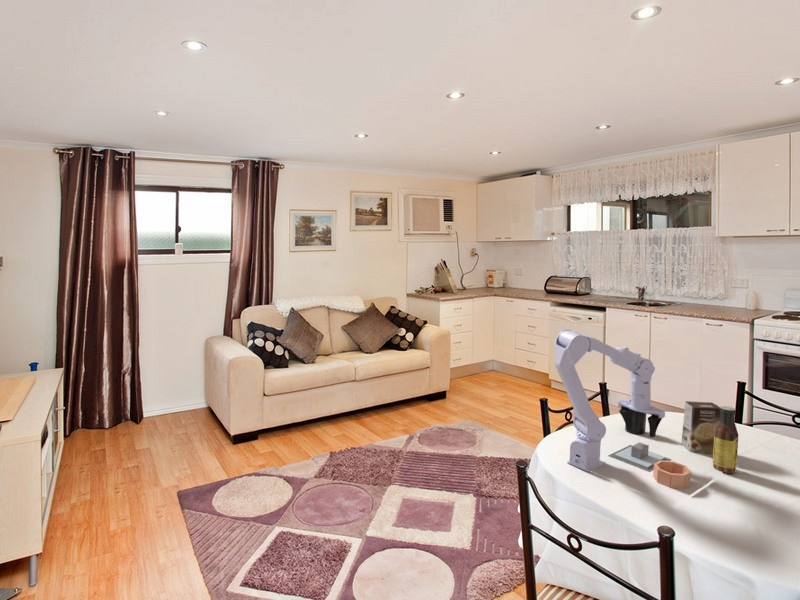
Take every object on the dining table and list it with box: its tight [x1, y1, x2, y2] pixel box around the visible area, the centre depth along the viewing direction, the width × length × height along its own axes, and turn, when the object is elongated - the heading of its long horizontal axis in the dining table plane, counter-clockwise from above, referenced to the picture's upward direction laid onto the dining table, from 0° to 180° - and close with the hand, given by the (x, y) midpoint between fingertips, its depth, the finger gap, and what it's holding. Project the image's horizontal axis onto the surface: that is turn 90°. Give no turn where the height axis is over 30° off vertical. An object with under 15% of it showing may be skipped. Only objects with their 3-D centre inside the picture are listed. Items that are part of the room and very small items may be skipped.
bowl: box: [652, 460, 692, 489], centre depth 148 cm, size 9×9×4 cm
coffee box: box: [680, 400, 721, 455], centre depth 168 cm, size 9×6×16 cm
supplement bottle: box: [624, 399, 647, 436], centre depth 184 cm, size 7×7×12 cm
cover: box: [614, 441, 666, 469], centre depth 163 cm, size 11×11×4 cm
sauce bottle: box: [712, 405, 739, 474], centre depth 154 cm, size 6×6×20 cm
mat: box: [607, 444, 673, 473], centre depth 163 cm, size 14×14×1 cm
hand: (640, 432), depth 162 cm, fingers open, 7 cm apart
